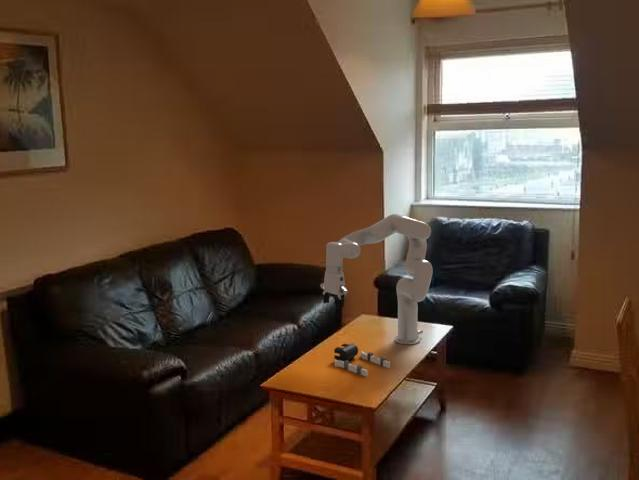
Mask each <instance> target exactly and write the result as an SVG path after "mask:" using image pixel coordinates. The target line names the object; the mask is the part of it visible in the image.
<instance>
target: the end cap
mask: <svg viewBox="0 0 639 480" xmlns="http://www.w3.org/2000/svg"><path fill="white" fill-rule="evenodd" d="M340 346H341V347H339V346H336V347H335V348H334V351H333V352H334V353H335V354H334V357H333V358H334V359H335V360H341V361H346V360H347V361H350V360H351V359H353V358H355V357H356V356H357V355H358V354H359V348H358V346H357V345H356V343H350V344H348V343H342V344H341V345H340ZM337 354H339V355H337Z"/></svg>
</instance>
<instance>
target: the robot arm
mask: <svg viewBox="0 0 639 480" xmlns="http://www.w3.org/2000/svg"><path fill="white" fill-rule="evenodd" d="M396 233H397V234H400V235H403V236H405V237H407V240H408V244H409V245H408V251H407V255H406V260H405V262H404V272H405V274H407V275H409V276H411V277H413V278H411V277H402V278H400V279H399V280H398V282H397V283H396V285H395V286H396V287H395V288H396V296H397V298H396V299H397V336H395V337H394V342H396V343H398V344H399V345H409V346H410V345H417V344H418V343H420V342H421V337H420V336H419V335H421V334H423V333H424V330H423V329H418V312H419V311H418V309H419V308H418V307H419V306H418V303H419V302H422V301H424V300H425V299H426V297H427V296H428V292H429V289H430V285H431V281H432V277H433V272H434V269H433V266H432V263H431V262H430V261H429V260H426V255H427V250H428V244H427V243H428V242H427V239H429V238H430V237H431V234H432V229H431V226H430V225H429V224H428V223H427V222H424V221H420V220H417V219H414V218H410V217H408V216H405V215H400V214H396V213H392V214H390V215H388V216H386V217H384V218H383V219H381V220H380V221H378V222H376V223H374V224H372V225H370V226H368V227H364V228H362V229H357V230H355V231H353V232H351V233H349V234H347V235H345V236H344V237H342V238H341V239H340V240H338V241H329V242H328V243H326V246H325V248H326V252H325V254H326V256H325V257H326V259H325V262H326V263H325V271H324V272H325V273H324V278H323V282H322V283H320V284H319V285H320V288H321V292H322V295H323V304H329V303H330V294H333V295H337V297H338V300H337V308H338V309H341V308H344V307H345V299H346V297H347V296H348V292H349V291H348V290H347V288H346V281H345V275H344V272H343V271H344V269H343V260H344V259H356V258H358V257H359V256H360V254H361V251H362V248H361V246H363V245H372V244H373V245H374V244H378V243H380V242H382V241H384V240H386V239H388V238H389V237H391V236H392V235H394V234H396Z"/></svg>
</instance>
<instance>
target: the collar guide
mask: <svg viewBox="0 0 639 480" xmlns="http://www.w3.org/2000/svg"><path fill="white" fill-rule="evenodd" d="M360 358H361V359H362V360H366V361H369V362H370V363H374V364H377V365H379V366H381V367H385V368H388V369H389V368H391V361H388V360H387V357H385V356H381V357H379V356H375V355H374V353H373V352H371V351H369V352H367V353H366V352H364V351H363V350H361V351H360ZM334 367H340V368H343V369H344V370H346V371H347V370H348V371H351V372H353V373H356V375H359V376H360V375H361V376H364V377H368V374H369V371H368V369H366V368H363V367H364V366H362V365H355V364H351V362H350V360H348V361H347V360H346V361H341V360H336V359H335V360H334Z"/></svg>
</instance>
